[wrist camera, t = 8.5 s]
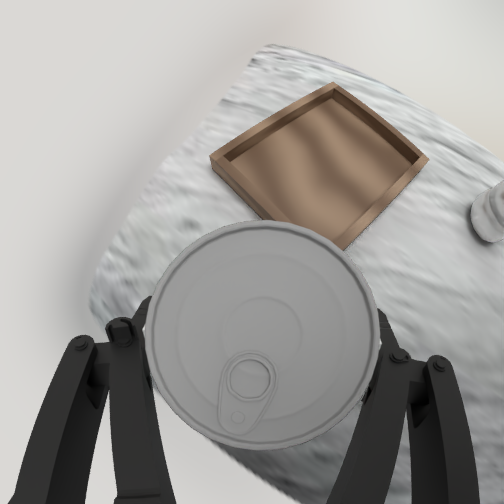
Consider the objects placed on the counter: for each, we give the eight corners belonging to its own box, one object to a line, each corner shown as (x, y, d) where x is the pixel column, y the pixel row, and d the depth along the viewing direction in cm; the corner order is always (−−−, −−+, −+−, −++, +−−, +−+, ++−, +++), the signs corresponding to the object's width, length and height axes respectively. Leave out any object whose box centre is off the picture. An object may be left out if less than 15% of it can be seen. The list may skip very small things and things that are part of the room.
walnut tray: (329, 94, 35) (332, 81, 33) (420, 170, 31) (429, 159, 29) (212, 168, 31) (209, 155, 29) (316, 275, 28) (322, 269, 25)
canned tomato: (223, 270, 21) (188, 195, 11) (330, 299, 20) (397, 250, 10) (190, 376, 19) (118, 404, 8) (300, 408, 18) (343, 468, 7)
